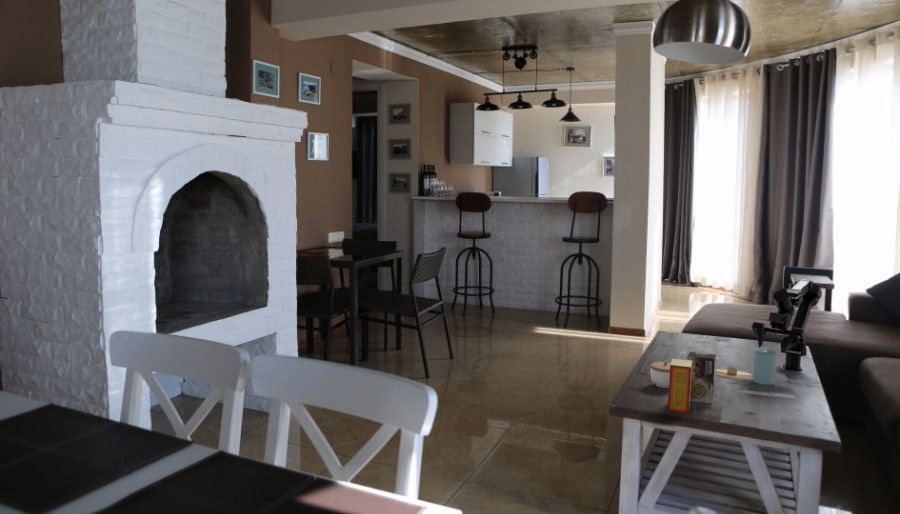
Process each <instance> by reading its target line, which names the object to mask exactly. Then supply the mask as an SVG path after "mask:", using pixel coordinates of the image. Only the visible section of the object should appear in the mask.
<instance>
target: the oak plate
mask: <svg viewBox="0 0 900 514" xmlns="http://www.w3.org/2000/svg"><path fill="white" fill-rule="evenodd" d="M716 376H717V377H720V378H723V379H730V380H737V381H738V380H739V381H740V380H743V381H744V380H750V379H753V374H751V373H749V372H747V371H744V370H739V369H737V375H729V374H727V368H717V369H716V368H715V377H716Z"/></svg>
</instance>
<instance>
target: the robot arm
mask: <svg viewBox="0 0 900 514" xmlns="http://www.w3.org/2000/svg"><path fill="white" fill-rule="evenodd" d="M822 293H823V292H822V289H821V288H820V286H819V285H818V284H816V283H814V281H813V280H812V279H803V278H801V279H799V280H798V282H797V283H796V284H795V285H794V286H792V287H791V288H789V289H788V288H786V287H784V288H783V287H781V288H780V290H776V291H775V292H774V293H773V295H772V298H773V301H774V304H775V307H776V308H777V312H770V313H769V316H768V321H769V326H766V325H765V322H760V321H754V322H752V324H751V328H752V331H753V334H754V335H755V336H756V337H758V340H757V341H758V349H761V347H762V346H763V343H764V341H765V337H766V334H767V333H769V334H776V335H781V336H782V338H781V340H780V353H781V354H785V359H784V360H785V362H784V364H782V367H783V368H784V370H790V371H801V372H802V371H803V368H802V367H801V363H802V361H801V360H802V357H806V356H807V355H808V354H807V352H808V351H807V350H808V349H807V346H806V339H807V337H806V333H805V329H806V325H807V323H808V319H809V316H810V314H811V310H812V308H813V307H814V306H816V305H817V304H818V303H819V302H820V300H821V299H822V295H823V294H822ZM795 307H798V309H797V311H796V308H795ZM795 311H796V313H795ZM793 316H795V317H794V320H793V322H792V318H793ZM791 322H792V326H791ZM789 327H791V328H790V329H789Z"/></svg>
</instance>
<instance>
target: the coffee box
mask: <svg viewBox="0 0 900 514" xmlns="http://www.w3.org/2000/svg"><path fill="white" fill-rule="evenodd" d="M716 359H717V355H716V354H714V353H705V352H694V351H690V352H689V353H688V355H687V360H692V377H691V394H690V402H696V403H703V402H704V403H705V404H711V405H712V404H714V401H715V387H716V386H715V385H716V383H715V382H716V381H715V380H716V375H715V369H716V363H717V361H716Z"/></svg>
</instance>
